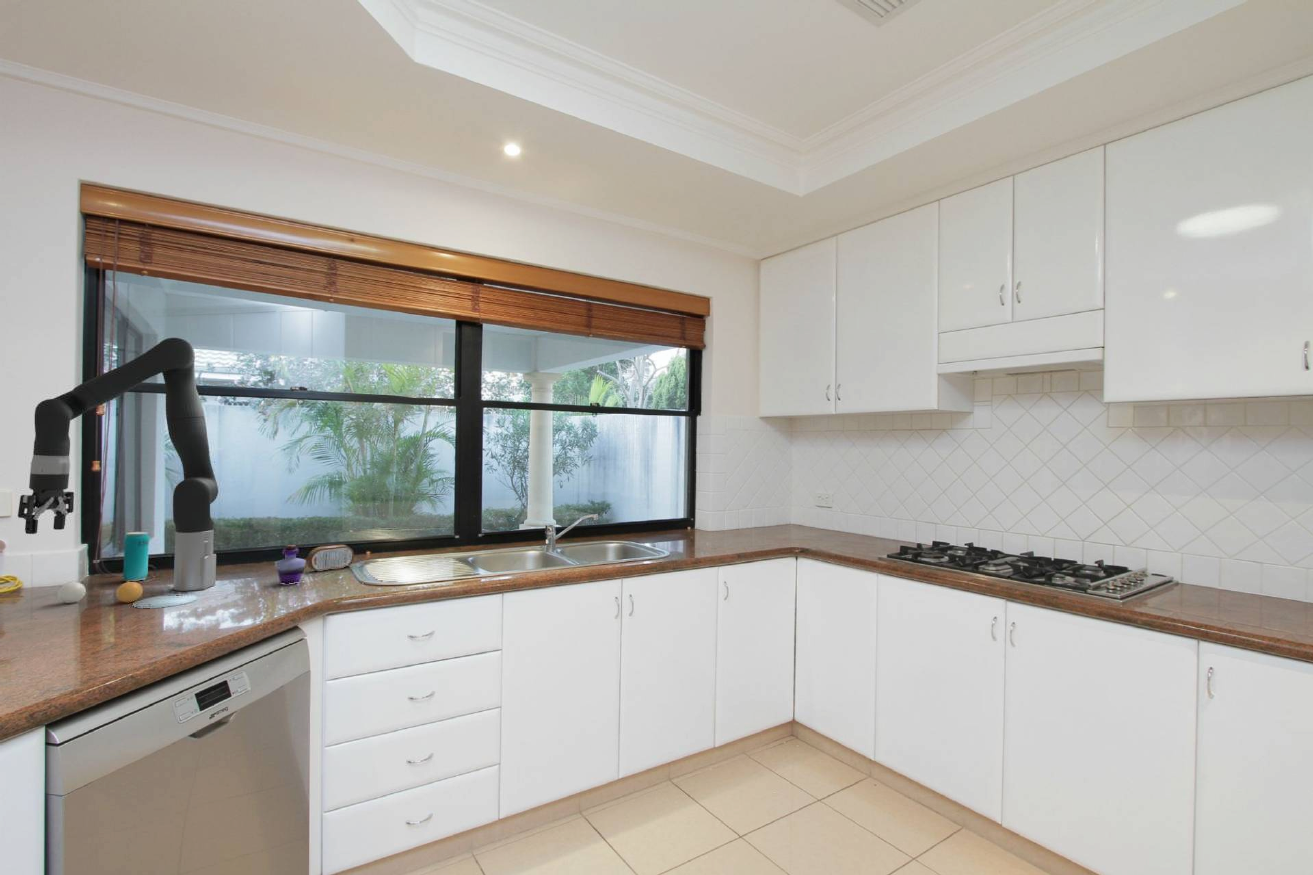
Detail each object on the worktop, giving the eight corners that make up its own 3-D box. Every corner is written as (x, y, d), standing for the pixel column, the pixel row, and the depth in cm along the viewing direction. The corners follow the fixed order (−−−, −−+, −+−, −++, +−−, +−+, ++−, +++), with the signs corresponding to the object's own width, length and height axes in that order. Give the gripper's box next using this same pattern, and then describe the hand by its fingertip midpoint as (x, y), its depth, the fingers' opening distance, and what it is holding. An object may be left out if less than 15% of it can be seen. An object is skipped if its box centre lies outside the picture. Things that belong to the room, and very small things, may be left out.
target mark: (208, 594, 175) (208, 594, 175) (177, 608, 161) (177, 607, 161) (154, 595, 173) (154, 594, 173) (118, 609, 159) (118, 608, 159)
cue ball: (90, 599, 166) (91, 580, 166) (74, 605, 161) (75, 584, 161) (68, 600, 166) (69, 580, 166) (51, 605, 160) (52, 584, 160)
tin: (351, 566, 218) (351, 542, 218) (355, 567, 216) (355, 544, 216) (306, 572, 206) (306, 547, 207) (309, 573, 204) (310, 549, 205)
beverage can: (152, 579, 191) (153, 531, 192) (135, 583, 186) (136, 534, 186) (135, 578, 192) (137, 531, 192) (118, 582, 186) (119, 533, 186)
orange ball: (147, 599, 168) (147, 579, 168) (133, 604, 163) (133, 584, 163) (125, 599, 168) (125, 579, 168) (110, 604, 162) (111, 584, 162)
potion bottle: (311, 582, 193) (312, 544, 193) (285, 587, 185) (286, 548, 185) (293, 578, 196) (294, 542, 197) (267, 584, 189) (268, 545, 189)
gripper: (42, 474, 158) (37, 536, 157) (86, 471, 172) (82, 528, 171) (10, 472, 157) (5, 534, 156) (57, 470, 171) (52, 527, 171)
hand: (45, 531), depth 164 cm, fingers open, 8 cm apart
